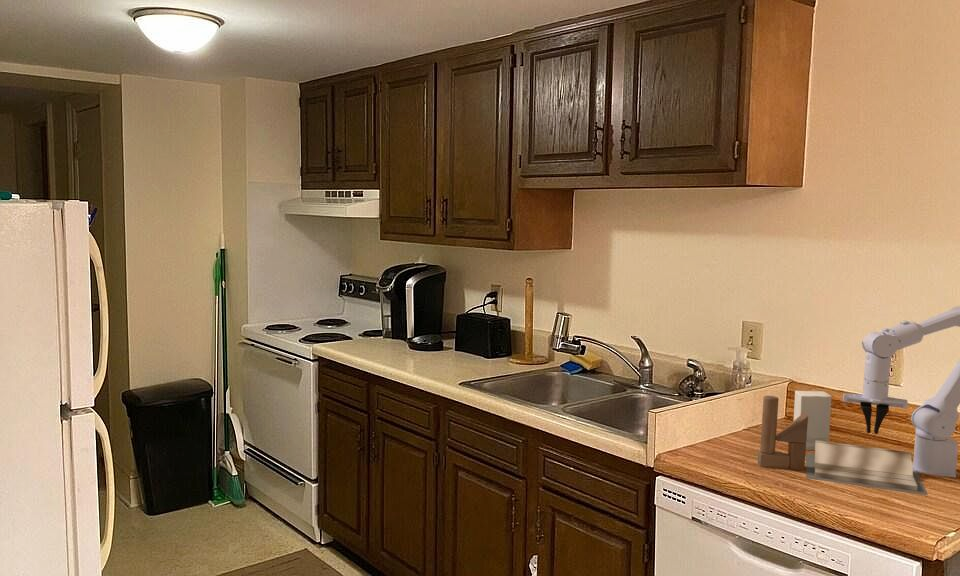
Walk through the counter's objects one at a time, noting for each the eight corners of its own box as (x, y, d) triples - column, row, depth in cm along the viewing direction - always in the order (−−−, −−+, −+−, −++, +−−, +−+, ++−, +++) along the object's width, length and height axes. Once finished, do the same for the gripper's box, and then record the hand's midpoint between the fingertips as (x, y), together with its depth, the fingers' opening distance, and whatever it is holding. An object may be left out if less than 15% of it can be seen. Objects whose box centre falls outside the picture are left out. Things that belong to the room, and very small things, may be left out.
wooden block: (804, 471, 198) (809, 400, 196) (760, 468, 200) (764, 398, 198) (800, 466, 202) (805, 397, 200) (757, 463, 203) (761, 394, 202)
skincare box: (821, 445, 221) (825, 390, 220) (829, 452, 215) (833, 396, 213) (790, 443, 222) (794, 389, 221) (797, 450, 216) (801, 394, 214)
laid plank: (912, 481, 192) (913, 476, 192) (916, 491, 185) (917, 485, 185) (814, 467, 200) (814, 462, 200) (815, 476, 193) (815, 471, 193)
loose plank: (814, 466, 201) (814, 462, 200) (815, 443, 207) (815, 440, 206) (912, 479, 193) (913, 475, 192) (910, 455, 199) (910, 451, 198)
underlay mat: (915, 468, 203) (915, 467, 203) (927, 496, 182) (927, 495, 182) (805, 454, 212) (805, 453, 212) (806, 479, 192) (806, 477, 192)
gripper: (845, 379, 198) (841, 432, 200) (910, 386, 193) (906, 440, 194) (844, 374, 205) (840, 426, 206) (907, 380, 200) (903, 433, 201)
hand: (872, 432), depth 201 cm, fingers closed
